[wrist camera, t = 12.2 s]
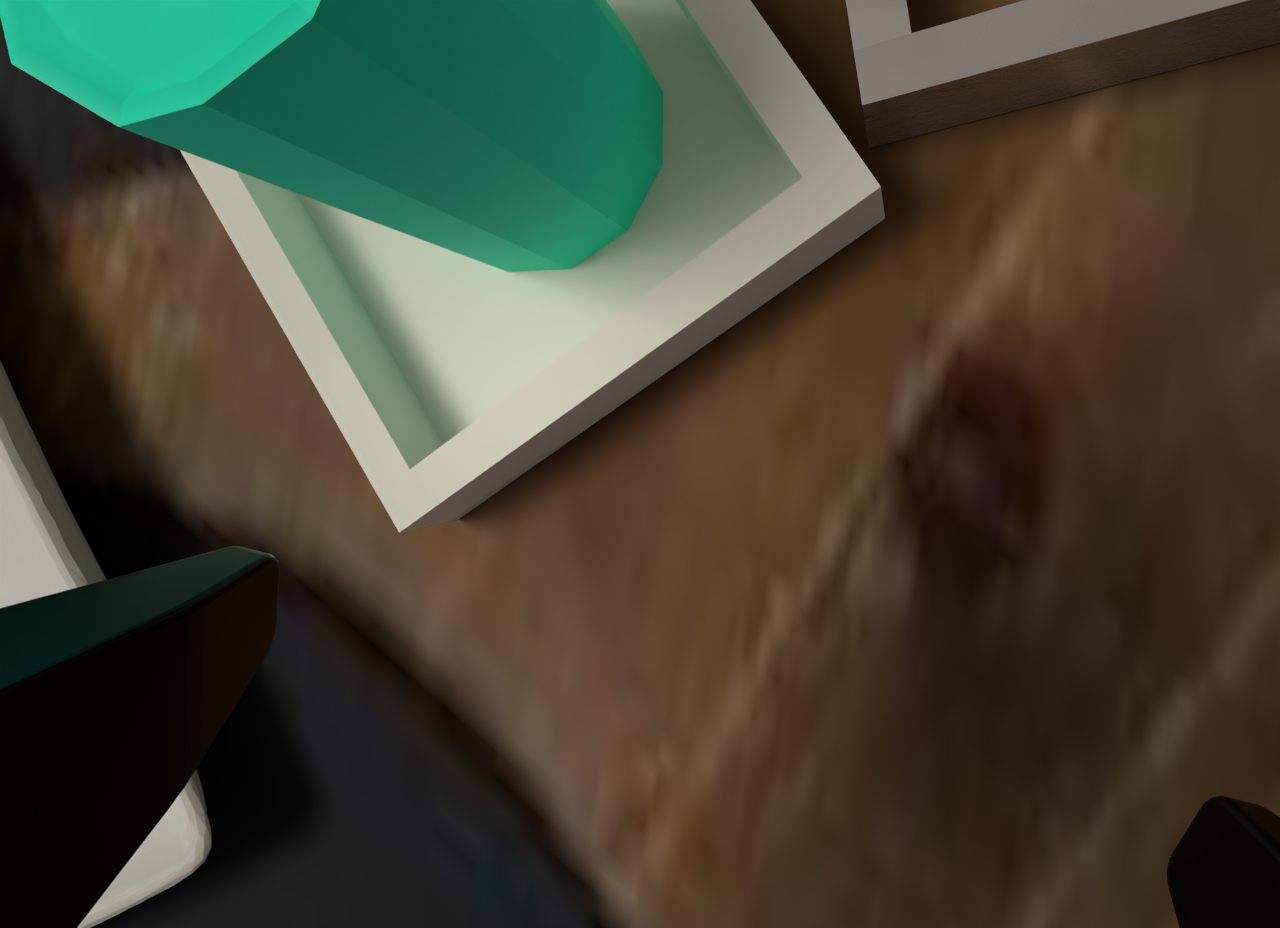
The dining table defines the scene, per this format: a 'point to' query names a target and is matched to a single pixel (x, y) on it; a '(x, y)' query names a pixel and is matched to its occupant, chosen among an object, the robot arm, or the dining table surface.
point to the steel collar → (1033, 54)
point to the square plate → (62, 560)
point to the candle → (382, 107)
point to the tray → (558, 274)
